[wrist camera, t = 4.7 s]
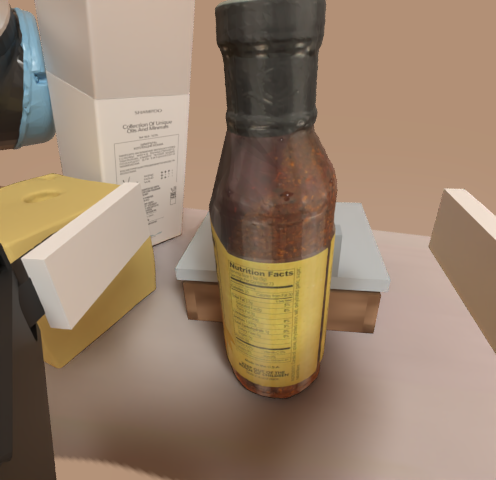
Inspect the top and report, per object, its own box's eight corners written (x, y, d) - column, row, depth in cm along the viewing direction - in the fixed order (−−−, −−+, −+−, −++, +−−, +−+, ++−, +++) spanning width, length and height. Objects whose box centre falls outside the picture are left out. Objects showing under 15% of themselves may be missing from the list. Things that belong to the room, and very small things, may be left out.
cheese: (-27, 330, 26) (-95, 214, 21) (86, 262, 35) (56, 167, 30) (60, 379, 22) (-1, 248, 17) (165, 288, 30) (145, 182, 25)
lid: (177, 279, 25) (168, 229, 23) (216, 208, 36) (213, 169, 34) (387, 292, 23) (399, 237, 21) (359, 212, 34) (365, 171, 32)
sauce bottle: (264, 317, 26) (261, 12, 16) (338, 355, 23) (390, -3, 13) (204, 374, 22) (152, 2, 12) (285, 431, 18) (304, -24, 9)
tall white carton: (140, 201, 43) (133, -50, 29) (182, 235, 39) (199, -42, 25) (69, 221, 37) (18, -80, 23) (110, 263, 33) (78, -77, 19)
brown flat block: (188, 319, 26) (182, 283, 25) (222, 239, 38) (220, 210, 36) (373, 333, 24) (380, 295, 23) (351, 244, 36) (355, 214, 34)
